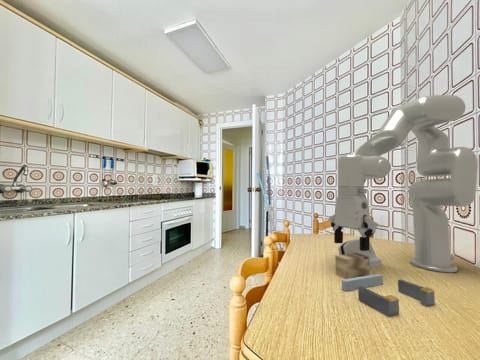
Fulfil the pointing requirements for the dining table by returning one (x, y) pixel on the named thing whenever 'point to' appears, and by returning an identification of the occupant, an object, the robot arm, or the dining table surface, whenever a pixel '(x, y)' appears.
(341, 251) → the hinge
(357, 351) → the dining table surface
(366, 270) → the brown box
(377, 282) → the plank
